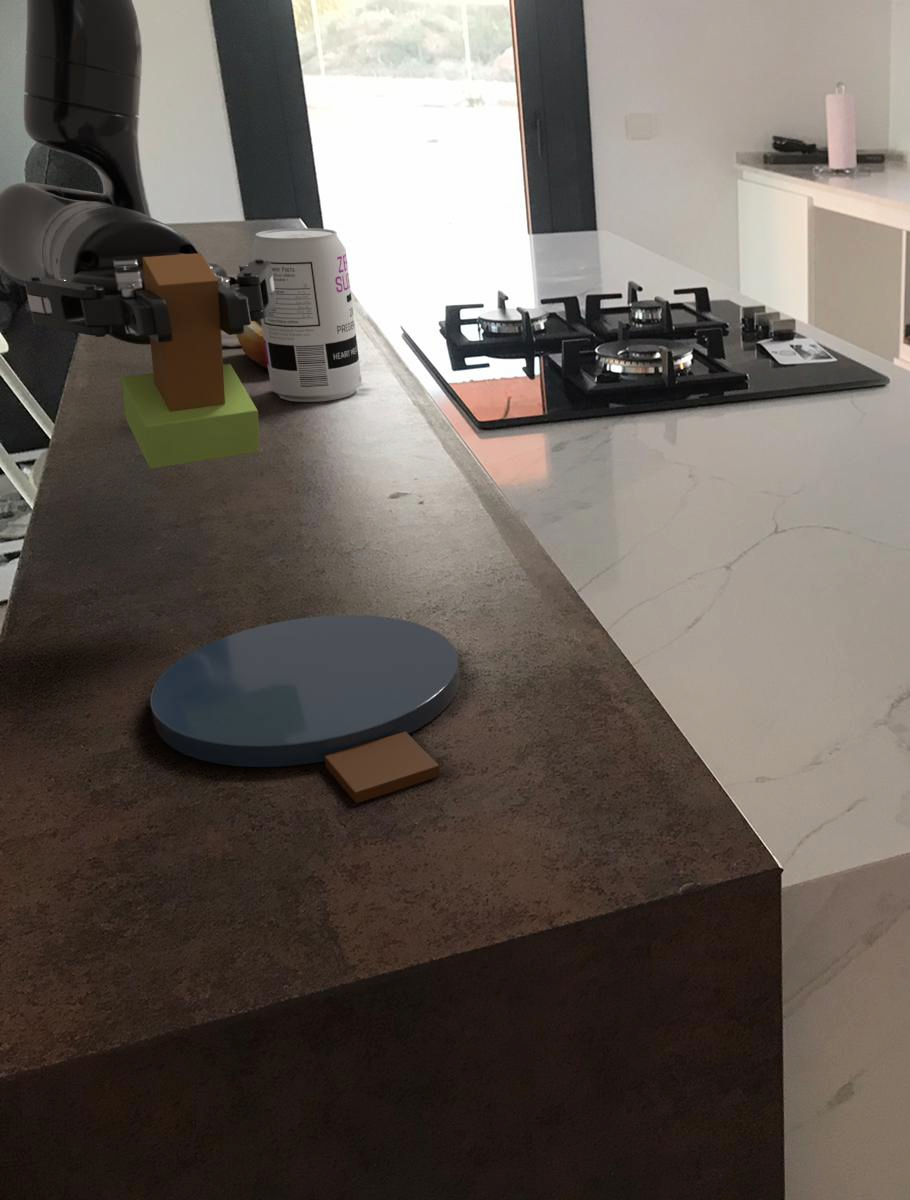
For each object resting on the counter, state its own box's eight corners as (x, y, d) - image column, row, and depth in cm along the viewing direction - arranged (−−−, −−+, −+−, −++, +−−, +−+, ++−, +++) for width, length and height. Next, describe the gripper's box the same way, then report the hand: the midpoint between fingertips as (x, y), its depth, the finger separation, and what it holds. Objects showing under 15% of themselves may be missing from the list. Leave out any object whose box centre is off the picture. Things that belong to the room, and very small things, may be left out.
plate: (199, 802, 57) (194, 779, 57) (123, 678, 68) (119, 658, 68) (507, 709, 66) (506, 688, 65) (396, 612, 77) (394, 594, 76)
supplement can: (260, 390, 124) (235, 231, 118) (343, 379, 129) (323, 225, 123) (290, 408, 118) (266, 241, 112) (376, 395, 123) (357, 234, 117)
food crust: (356, 807, 58) (354, 792, 57) (325, 770, 60) (323, 755, 60) (440, 779, 60) (439, 765, 60) (407, 745, 63) (405, 730, 62)
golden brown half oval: (258, 379, 128) (250, 329, 126) (232, 353, 138) (225, 307, 136) (309, 374, 131) (302, 325, 129) (281, 349, 141) (274, 303, 139)
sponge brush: (150, 469, 72) (132, 298, 65) (125, 419, 75) (105, 249, 68) (259, 452, 76) (253, 287, 69) (232, 404, 78) (224, 241, 71)
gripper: (-18, 217, 75) (33, 256, 62) (234, 203, 82) (324, 236, 70) (12, 345, 78) (66, 407, 65) (252, 320, 85) (341, 372, 73)
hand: (199, 318), depth 68 cm, fingers closed on sponge brush, 3 cm apart
